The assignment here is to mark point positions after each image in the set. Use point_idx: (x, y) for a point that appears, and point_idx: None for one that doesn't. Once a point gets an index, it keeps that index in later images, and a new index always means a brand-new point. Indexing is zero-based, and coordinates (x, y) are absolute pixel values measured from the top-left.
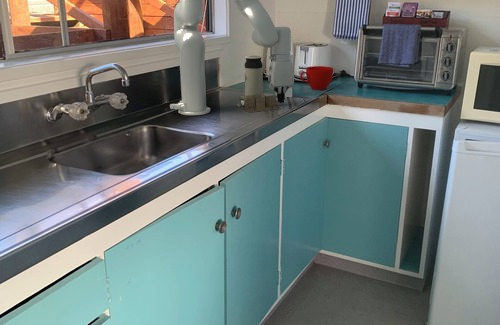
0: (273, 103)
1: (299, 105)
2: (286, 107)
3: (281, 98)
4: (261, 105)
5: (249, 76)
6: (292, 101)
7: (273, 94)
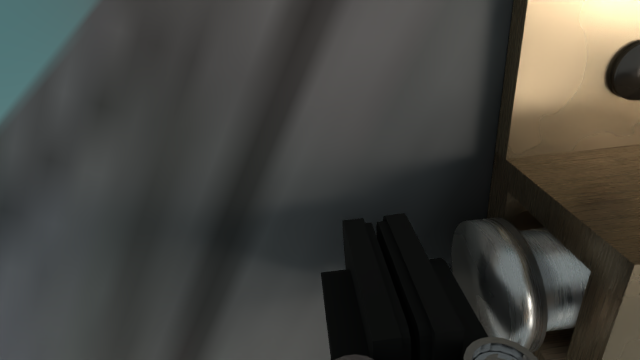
0: (568, 169)
1: (96, 116)
2: (364, 57)
3: (414, 257)
4: None
5: None
6: (140, 352)
7: (619, 335)
